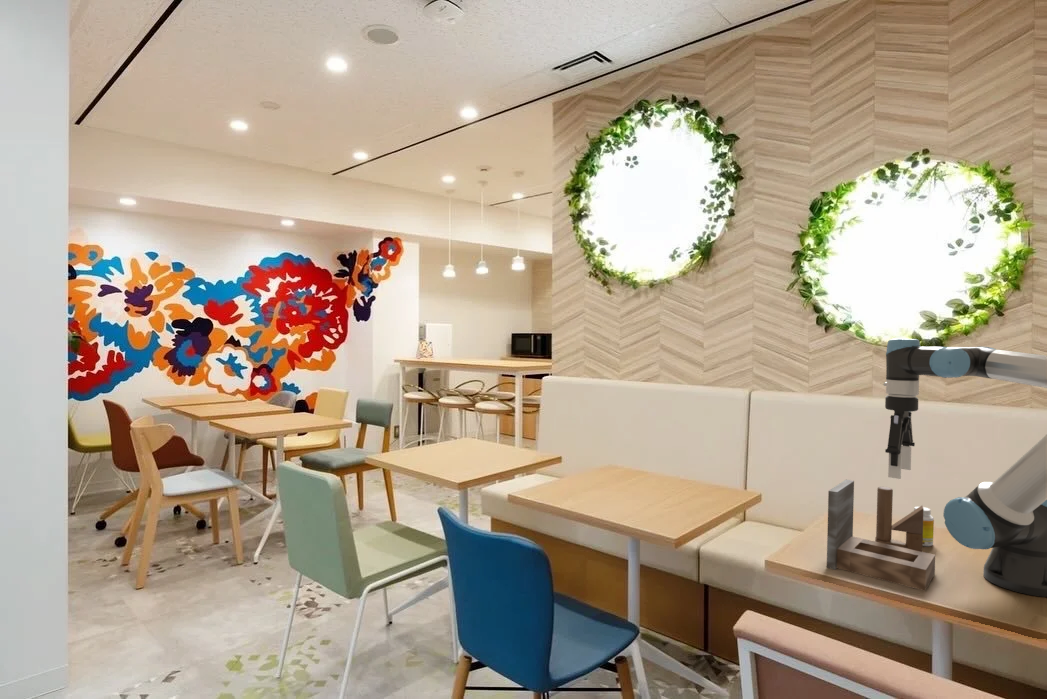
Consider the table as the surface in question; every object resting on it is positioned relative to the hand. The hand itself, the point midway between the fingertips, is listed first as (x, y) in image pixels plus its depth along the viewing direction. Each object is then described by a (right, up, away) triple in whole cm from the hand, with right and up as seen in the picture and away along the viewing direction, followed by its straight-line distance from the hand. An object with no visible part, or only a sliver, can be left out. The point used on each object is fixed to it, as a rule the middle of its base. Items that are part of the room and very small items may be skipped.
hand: (899, 473), depth 159 cm
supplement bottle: (+12, -23, +10) cm, 27 cm away
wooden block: (0, -23, +1) cm, 23 cm away
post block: (-10, -23, -10) cm, 27 cm away
